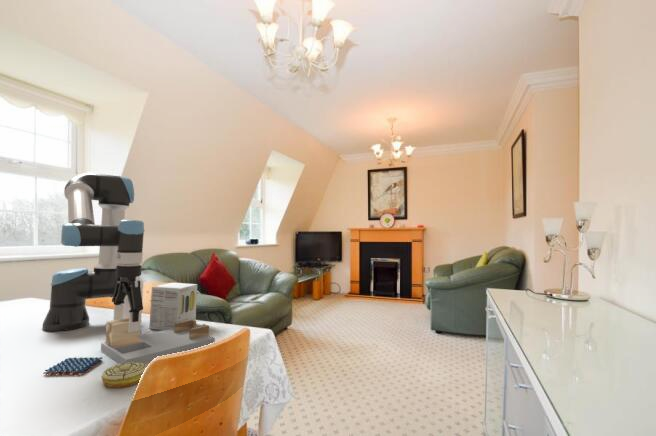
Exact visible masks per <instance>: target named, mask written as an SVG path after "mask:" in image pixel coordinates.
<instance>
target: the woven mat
mask: <svg viewBox="0 0 656 436" xmlns="http://www.w3.org/2000/svg"><path fill="white" fill-rule="evenodd" d="M102 359H103V356H102V357H98V356H96V357H91V356H90V357H83V356H81V357H76V356H75V357H68V358H65V359H64V360H61V362H58V363H57V364H56V365H52V367H49V368H48V369H45V370H44V372H43V374H44V375H43V377H46V376H48V377H50V376H51V377H55V376H56V377H59V376H61V375H64V376H66V375H68V376H71V377H72V376H74V377H75V375H76V376H77V375H78V376H82V375H84V374H86V373H87V372H88V371H90V370H92V369H93V368H94V367H96V366H97V365H99V364H101V363H102V362H103V360H102ZM47 374H48V375H47ZM56 374H57V375H56ZM60 374H61V375H60ZM54 375H55V376H54ZM58 375H59V376H58Z"/></svg>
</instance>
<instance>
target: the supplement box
mask: <svg viewBox="0 0 656 436" xmlns="http://www.w3.org/2000/svg"><path fill="white" fill-rule="evenodd" d="M150 297H151V298H150V310H149V311H150V314H149V326H148V329H150V330H157V331H163V330H168V329H173V328H175V323H178V322H183V321H189V320H194V321H196V322H197V319H196V318H197V298H198V284H197V283H185V282H170V283H164V284H159V285H155V286H151V295H150Z"/></svg>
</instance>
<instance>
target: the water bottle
mask: <svg viewBox="0 0 656 436" xmlns="http://www.w3.org/2000/svg"><path fill="white" fill-rule="evenodd" d="M151 271H152V270H143V274H147V275H148V274H151V273H152V272H151ZM136 281H140V289H141V296H142V299H143V296H144V295H143V293H144V282H143V280H142V279H141V276H137V277H136ZM130 310H131V308H130V304H129V300H128V295H126V296H125V298H124V307H123V319H125V318H129V315H130V313H129V311H130ZM142 313H143V310H140V311H139V320H140V321H139V335H141V334H142V333H141V332H142V331H141V328H142V324H141V323H142V317H143V316H142Z"/></svg>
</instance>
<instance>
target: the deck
mask: <svg viewBox="0 0 656 436" xmlns="http://www.w3.org/2000/svg"><path fill="white" fill-rule="evenodd" d="M189 333H190V330H188V331H183V332H178V333H174V328H173V329H168V330H157V331H154V332H149V333H144V334H140V335H139V338H138V341H137V342H132V343H128V344H123V345H118V346H114V347H111V346H109V345H108V344H106V343H105V342H101V344H100V345H101V346H100V351H101V352H102V353H104V354H105V355H106V356H108V357H109V358H110V359H112V360H113V361H115V362H116V363H118V364H123V363H128V362H139V363H145V364H148V363H151V362H150V361H152V360H153V359H154V358H156V357H157V356H162V355H167V354H172V353H177V352H182V351H187V350H191V349H194V348H198V347H201V346H204V345H208V344H210V343H213V342H214V343H215V339H216V338H215V336H211V335H210V334H209V335H208V336H204V337H200V338H195V339H191V340H190V339H189ZM152 362H153V361H152Z"/></svg>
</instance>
